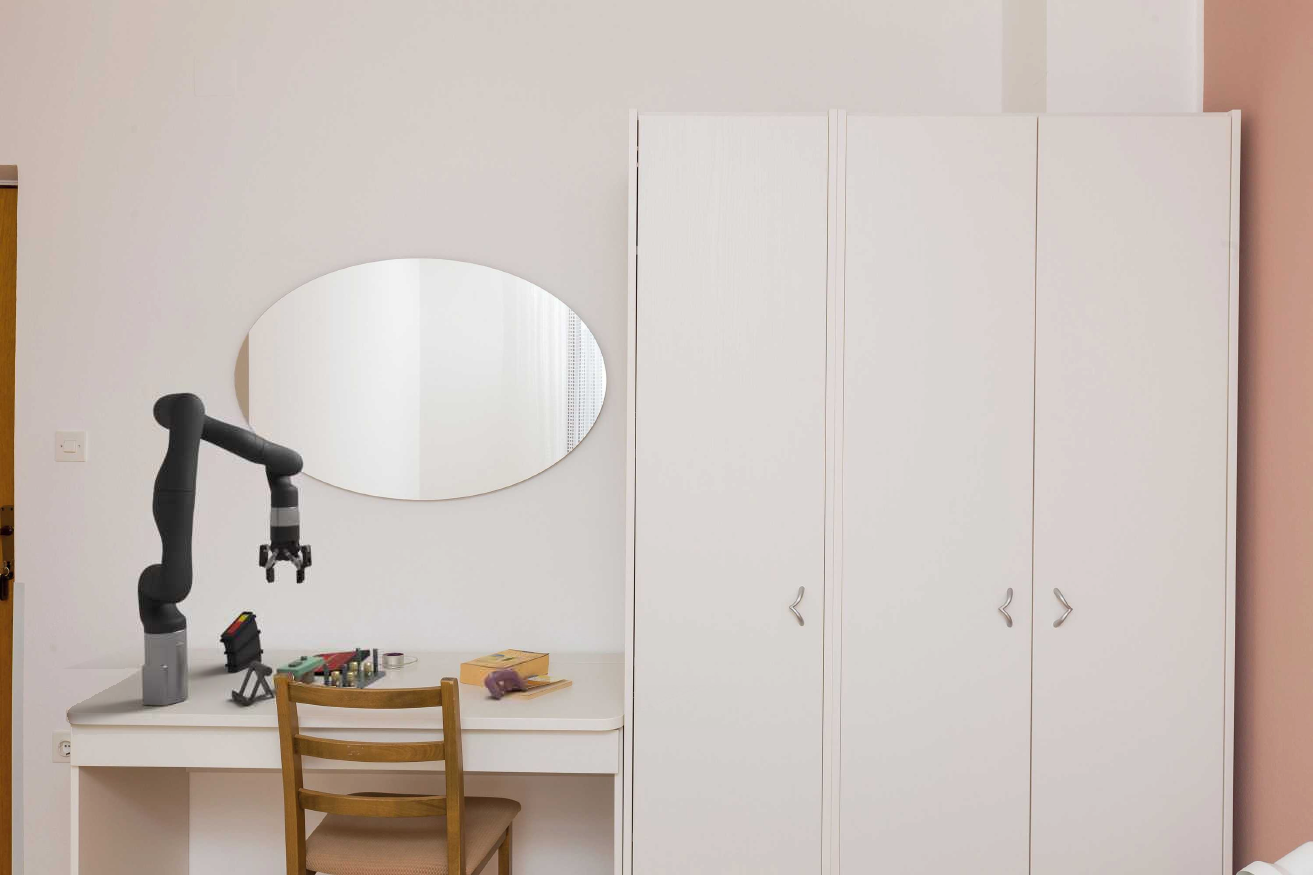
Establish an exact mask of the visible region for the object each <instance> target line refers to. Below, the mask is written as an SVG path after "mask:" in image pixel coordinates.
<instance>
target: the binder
mask: <svg viewBox="0 0 1313 875" xmlns="http://www.w3.org/2000/svg"><path fill="white" fill-rule="evenodd" d="M360 655H361V664H362V663H363V662H364V661H365V660H367V658H369V657H370V656H371V649H360ZM311 657H324V664H325V663H329V677H331V672H334V671H339V672H340V675H342V665H343V664H347V672H348V671H350V663H351V662H356V650H353V651H342V652H341V651H339V652H330V653H321V654H315V655H312V656H311ZM324 664H322V665H320V666H318V667H316V668H314V677H324Z"/></svg>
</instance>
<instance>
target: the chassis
mask: <svg viewBox="0 0 1313 875" xmlns="http://www.w3.org/2000/svg"><path fill="white" fill-rule="evenodd" d="M360 650H361V647H356V648H355V651H356V662H351V663H350V671H348V672H347V664H343V665H342V674H340V672H339V671H334V672H331V676H329V663H325V664H324V676H323V684H322V685H326V686H336V687H355V688H362V689H364V688H366V687H368V686H369V685H371V684H373V683H374V682H376V681H378V680H380V679H381V678H383V677H384V676H386V675H387V672H386V670H379V654H378V652H379V650H378V648H372V662H373V663H372V662H364V663H363V669H362V666H361V665H362V663H361V655H360ZM372 664H373V666H372ZM330 679H331V680H330Z"/></svg>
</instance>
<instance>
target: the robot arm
mask: <svg viewBox="0 0 1313 875" xmlns="http://www.w3.org/2000/svg"><path fill="white" fill-rule="evenodd" d="M152 413H153V417H154V419H155V421H156V423H157V424H158V425H160V426H161V427H162V428H164V429H167V430H169V431H168V444H167V445H168V446H167V451H166V454H165V457H164V458H163V461H162V463H161V465H160V468H159V469H158V472H157V474H156V477H155V479H154V480H155V481H154V484H153V493H152V504H151V505H152V506H151V507H152V508H151V509H152V515H153V518H154V522H155V525H156V528H157V530H158V533H159V536H160V541H161V547H162V550H161V551H162V553H161V562H160V563H153V564H150V565H149V566H147V567H145V568H144V569H143V570H142V571H141V574H140V575H139V578H138V583H137V600H138V601H137V602H138V612H139V619H140V622H141V624H142V626H143V638H144V639H143V640H144V641H143V642H144V643H143V644H144V645H143V646H144V647H143V648H144V653H143V654H144V664H143V665H142V666H141V681H142V683H141V684H142V686H141V687H142V705H145V706H159V707H160V706H161V707H164V706H168V705H171V704H176V703H180V702H182V701H185V700H187V699H188V698H189V672H188V666H189V664H188V633H187V632H188V631H187V630H188V629H187V628H188V626H187V617H186V615H184V614H183V613H182V612H181V611H180V610H179V609H178V607H177V604H178V603H179V604H180V603H182V602H183V601H185V600H186V599H187V597H188V596H189V594H190V593H191V590H192V586H193V577H194V575H193V572H194V571H193V531H194V530H193V529H194V514H195V513H194V512H195V505H196V504H195V503H196V492H197V478H198V477H197V475H198V465H199V464H198V462H199V451H200V444H201V441H204V442H208V443H209V444H211V445H214V446H216V447H219V448H220V449H223V450H225V451H227V452H229V453H231V454H233V455H235V456H236V457H237V456H238V457H240V458H241V459H242V460H243V459H244V460H246V461H247V462H250V463H253V464H258V465H261V466H262V465H263V466H264V469H265V475H266V479H267V483H268V487H269V489H270V514H269V539H270V544H268V543H264V544H261V545H259V552H258V553H259V554H258V555H259V556H258V566H259V567H262V568H264V569H265V579H266V581H267V583H268V584H271V583H272V584H273V583H274V582H275V579H276V578H275V577H276V576H275V568H274V567H275V566H276V564H277V563H278V562H282V561H285V562H290V563H291V564H293V565H294V567H295V568H296V572H295V573H296V574H295V575H296V578H295V580H296V584H303V583H304V582H305V579H306V578H305V577H306V576H305V575H306V572H305V571H306V569H307V568H309V567H311V566H312V565H313V564H312V563H313V562H312V549H311V546H312V545H310V544H305V545H301V544H300V538H301V536H300V535H301V533H300V532H301V531H300V528H301V527H300V525H301V523H300V522H301V520H300V519H301V518H300V510H299V508H300V507H299V488H298V487H297V486H296V485H294V484H293V483H292V480H291V477H293V476H296V475H298V474H299V473H301V472H302V470H303V468H304V461H303V458H302V456H301V454H299V453H298V452H297V451H295V450H293V449H292V448H289V447H286V446H284V445H281V444H278V443H274V442H272V441H269V440H267V439H265V438H264V437H262V436H260V435H258V434H256V433H254V432H252V431H250V430H247V429H245V428H243V427H239V426H236V425H233V424H230V423H227V422H224V421H222V420H218V419H216V418H214V417H211V416H210V415H207V414H206V408H205V404H204V403H203V401H202V399H201V398H200V397H199V396H198V395H197V394H195V393H191V392H177V393H170V394H166V395H163V396H161V397H160V398H158V399H157V400H156V402H155V403H154V404H153V408H152ZM269 552H271V555H270V557H269ZM299 552H300V553H301V554H302V555H301V554H300V553H299Z"/></svg>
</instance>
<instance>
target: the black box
mask: <svg viewBox="0 0 1313 875" xmlns="http://www.w3.org/2000/svg"><path fill="white" fill-rule="evenodd" d="M256 618H257V614H254V613H253V611H246V610H245V611H242V612H241V613H240V614H239V615H238V616H237V617H236V618H235V619H234V621H232V622H231V624H229V626H228V627H227V628H226V629H225V630H224V631H223V632H222V633H221V634H220V639H219V642H220V643H223V646H224V649H225V651H223V655H226V662H227V663H225V665H224V667H225V668H227V672H228V673H239V672H240V671H243V670H246V669H249V667H250V664H251V663H252V662H253V661H257V662H259V663H261V664H262V654H264V649H262V645H261V638H260V637H261V636H260V634H261V633H262V632H261V629H259V628H258V625H257V624H258V623H257V621H256Z"/></svg>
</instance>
